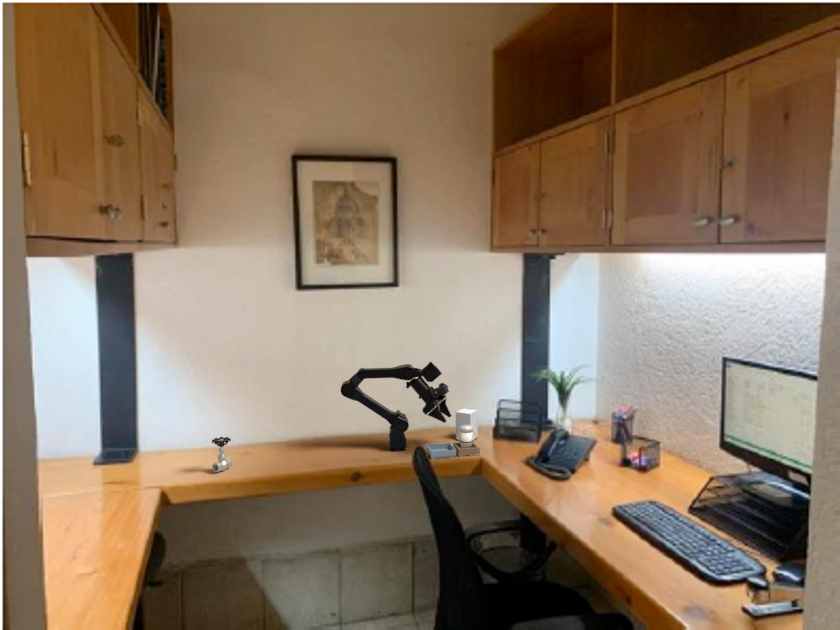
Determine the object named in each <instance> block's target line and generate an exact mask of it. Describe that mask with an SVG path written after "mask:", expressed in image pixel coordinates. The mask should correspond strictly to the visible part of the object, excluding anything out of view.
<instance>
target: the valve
mask: <svg viewBox="0 0 840 630" xmlns="http://www.w3.org/2000/svg"><path fill="white" fill-rule="evenodd" d="M229 442H231V438H230V437H228V436H226V437H223V436H219V438H218V437H214V438H213V439H211V444H214V445H216V446H218V447H219V448H218V452H219V454H218V455H217V462H214V463H212V466H211V468H212V471H213V472H215V474H216V473H218V472H224V471H226V470H227V469H229V468H231V467H232V466H233V462H232V460H231V458H229V457H227V455H226V454H225V448H224V446H226V445H227V444H229Z"/></svg>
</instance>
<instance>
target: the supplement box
mask: <svg viewBox="0 0 840 630" xmlns="http://www.w3.org/2000/svg"><path fill="white" fill-rule="evenodd" d="M478 414H479V412H478V409H472V408H471V409H470V408H461V409H459V410H457V411H455V440H456V439H457V440H456V441H460V425H463V424H468V425H472V426H473V432H472V440H474V439H475V438H477V437H478V438H479V436H478V434H479V425H478V424H479V422H478V420H479V419H478V418H479V415H478ZM478 438H477V439H478ZM474 441H475V440H474Z"/></svg>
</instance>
